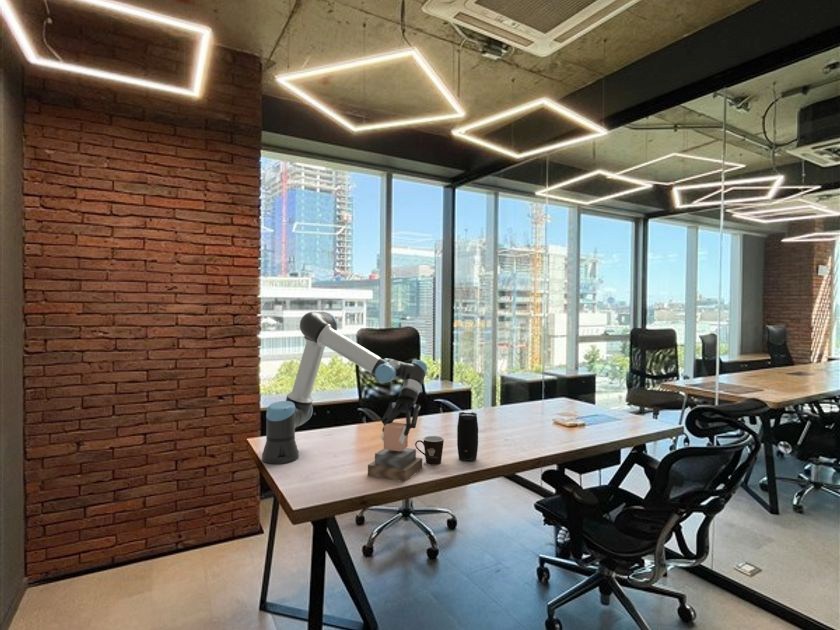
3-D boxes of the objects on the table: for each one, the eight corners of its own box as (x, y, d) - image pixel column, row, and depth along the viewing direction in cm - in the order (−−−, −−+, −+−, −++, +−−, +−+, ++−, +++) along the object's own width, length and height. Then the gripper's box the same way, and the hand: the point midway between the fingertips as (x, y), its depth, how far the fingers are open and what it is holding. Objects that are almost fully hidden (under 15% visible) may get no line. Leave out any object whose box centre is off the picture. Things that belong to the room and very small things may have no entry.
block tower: (367, 475, 173) (367, 454, 173) (387, 462, 188) (387, 443, 188) (405, 481, 167) (405, 460, 167) (422, 468, 182) (422, 448, 182)
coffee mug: (447, 462, 189) (448, 438, 189) (434, 467, 183) (434, 442, 183) (426, 456, 197) (427, 433, 197) (413, 461, 191) (413, 437, 191)
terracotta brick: (383, 449, 176) (383, 426, 176) (391, 444, 182) (392, 422, 182) (399, 451, 173) (400, 427, 173) (407, 446, 179) (407, 423, 179)
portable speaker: (471, 463, 188) (471, 416, 188) (452, 459, 194) (453, 413, 193) (482, 458, 195) (482, 413, 194) (463, 454, 200) (463, 410, 200)
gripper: (434, 399, 188) (418, 449, 173) (391, 396, 196) (372, 443, 181) (429, 389, 183) (412, 439, 168) (385, 385, 191) (365, 433, 176)
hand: (391, 441), depth 174 cm, fingers closed on terracotta brick, 7 cm apart
